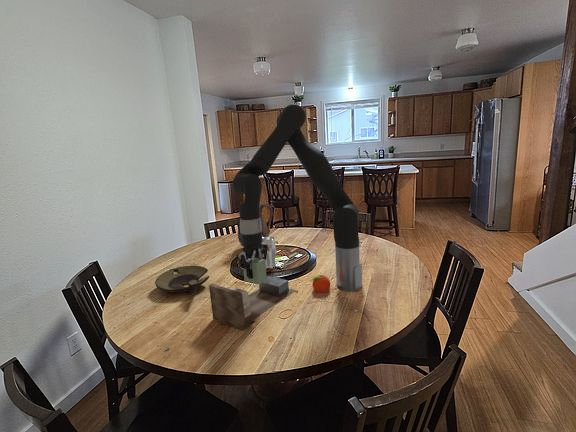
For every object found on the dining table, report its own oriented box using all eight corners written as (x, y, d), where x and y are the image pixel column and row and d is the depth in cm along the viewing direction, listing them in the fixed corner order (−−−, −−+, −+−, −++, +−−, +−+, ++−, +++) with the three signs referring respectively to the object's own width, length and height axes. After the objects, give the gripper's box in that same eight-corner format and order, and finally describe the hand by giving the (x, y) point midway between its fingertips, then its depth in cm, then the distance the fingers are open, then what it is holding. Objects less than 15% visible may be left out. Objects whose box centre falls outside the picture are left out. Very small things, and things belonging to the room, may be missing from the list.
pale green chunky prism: (266, 280, 115) (265, 259, 113) (258, 284, 112) (256, 263, 110) (252, 276, 119) (250, 256, 118) (244, 280, 116) (242, 259, 114)
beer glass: (270, 272, 147) (268, 241, 143) (259, 269, 151) (256, 239, 148) (280, 267, 152) (277, 237, 149) (269, 264, 156) (266, 235, 153)
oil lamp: (209, 272, 152) (207, 257, 151) (211, 299, 124) (208, 281, 122) (160, 279, 147) (158, 264, 146) (150, 310, 119) (146, 291, 117)
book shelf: (296, 293, 124) (294, 262, 122) (242, 330, 101) (238, 294, 98) (269, 285, 133) (266, 257, 130) (213, 319, 109) (208, 285, 107)
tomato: (313, 298, 119) (312, 280, 118) (307, 290, 126) (306, 274, 124) (333, 294, 121) (332, 277, 120) (326, 287, 128) (325, 270, 126)
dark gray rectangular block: (289, 291, 124) (288, 280, 123) (279, 297, 119) (278, 286, 118) (269, 285, 130) (268, 275, 129) (259, 291, 125) (258, 281, 124)
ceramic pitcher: (235, 246, 189) (231, 205, 183) (268, 240, 197) (265, 200, 192) (244, 255, 173) (240, 210, 168) (279, 247, 182) (276, 204, 176)
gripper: (244, 237, 104) (248, 285, 107) (272, 226, 115) (275, 270, 118) (228, 234, 108) (233, 280, 112) (257, 224, 119) (260, 267, 123)
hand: (255, 275), depth 115 cm, fingers closed on pale green chunky prism, 4 cm apart
